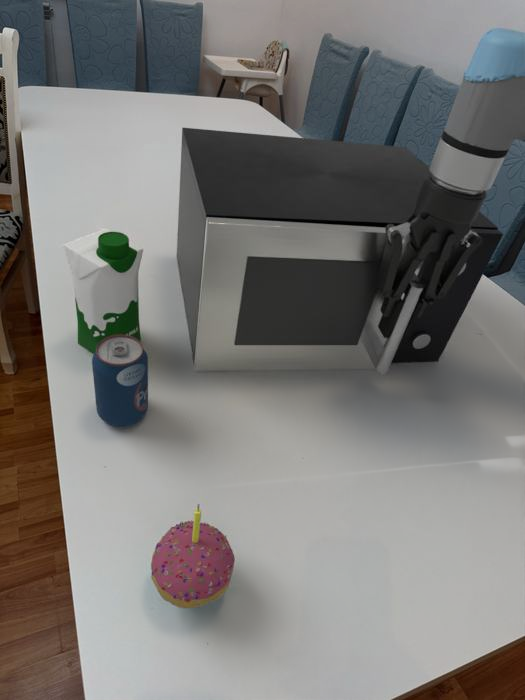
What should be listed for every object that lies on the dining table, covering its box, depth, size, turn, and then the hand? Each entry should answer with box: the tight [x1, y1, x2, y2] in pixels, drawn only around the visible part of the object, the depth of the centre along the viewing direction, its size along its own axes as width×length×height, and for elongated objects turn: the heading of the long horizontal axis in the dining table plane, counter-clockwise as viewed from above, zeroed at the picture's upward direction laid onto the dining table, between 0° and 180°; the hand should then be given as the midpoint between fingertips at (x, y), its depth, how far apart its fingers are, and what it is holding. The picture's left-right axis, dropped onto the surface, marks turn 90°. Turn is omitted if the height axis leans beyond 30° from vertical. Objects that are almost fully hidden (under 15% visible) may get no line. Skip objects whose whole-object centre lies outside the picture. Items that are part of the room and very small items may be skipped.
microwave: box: [176, 127, 504, 364], centre depth 88 cm, size 35×44×26 cm
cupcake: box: [150, 503, 236, 609], centre depth 50 cm, size 9×8×12 cm
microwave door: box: [193, 217, 424, 374], centre depth 72 cm, size 8×32×26 cm, turn 100°
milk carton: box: [62, 228, 144, 355], centre depth 74 cm, size 9×9×20 cm
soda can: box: [91, 335, 149, 429], centre depth 66 cm, size 7×7×12 cm
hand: (392, 331), depth 75 cm, fingers open, 2 cm apart
